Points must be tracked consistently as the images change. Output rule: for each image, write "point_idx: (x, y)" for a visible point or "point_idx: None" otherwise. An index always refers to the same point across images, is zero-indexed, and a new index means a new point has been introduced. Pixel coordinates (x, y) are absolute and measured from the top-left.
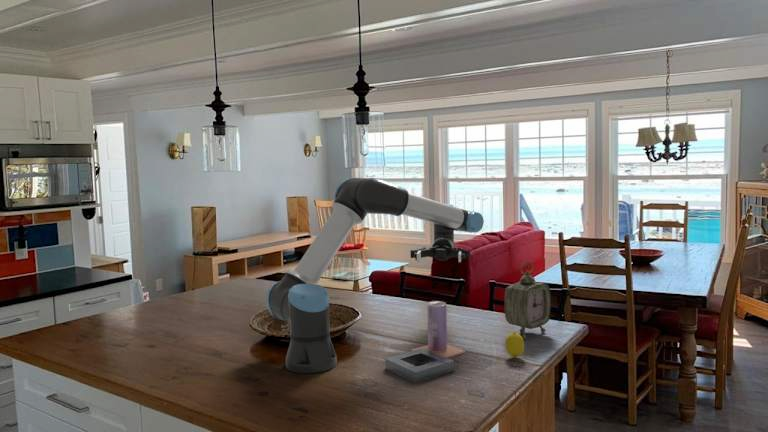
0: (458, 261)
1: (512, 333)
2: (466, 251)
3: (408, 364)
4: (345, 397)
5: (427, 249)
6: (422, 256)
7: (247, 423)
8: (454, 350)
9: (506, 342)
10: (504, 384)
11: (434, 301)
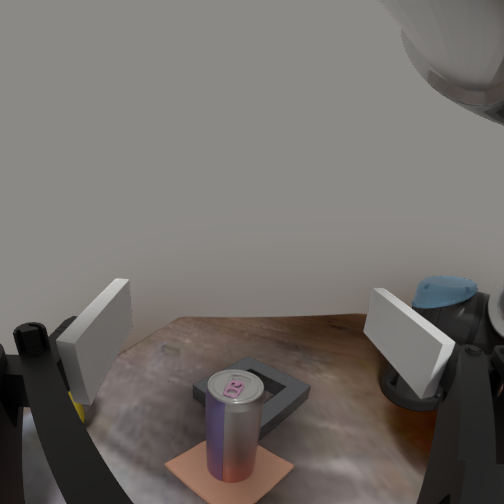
0: (132, 322)
1: None
2: (2, 357)
3: (265, 373)
4: (314, 342)
5: (477, 431)
6: (439, 417)
7: (358, 314)
8: (189, 467)
9: (81, 405)
10: (129, 363)
11: (246, 400)
